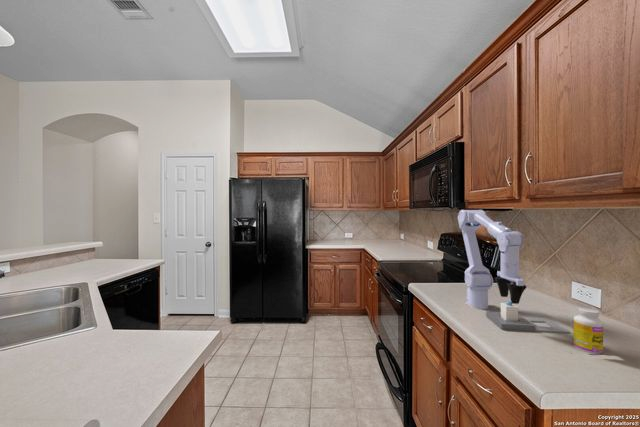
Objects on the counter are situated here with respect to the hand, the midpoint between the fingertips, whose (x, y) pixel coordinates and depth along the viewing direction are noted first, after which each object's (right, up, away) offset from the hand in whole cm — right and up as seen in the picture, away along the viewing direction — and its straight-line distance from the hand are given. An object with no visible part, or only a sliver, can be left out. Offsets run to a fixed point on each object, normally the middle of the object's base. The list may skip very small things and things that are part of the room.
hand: (509, 299), depth 103 cm
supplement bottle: (+12, -10, -18) cm, 24 cm away
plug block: (0, -9, 0) cm, 9 cm away
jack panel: (+5, -10, -1) cm, 11 cm away
